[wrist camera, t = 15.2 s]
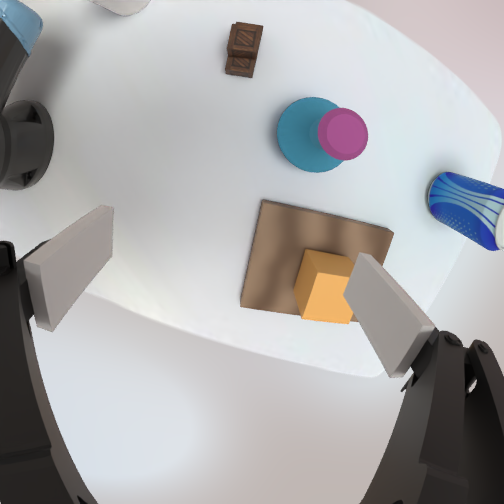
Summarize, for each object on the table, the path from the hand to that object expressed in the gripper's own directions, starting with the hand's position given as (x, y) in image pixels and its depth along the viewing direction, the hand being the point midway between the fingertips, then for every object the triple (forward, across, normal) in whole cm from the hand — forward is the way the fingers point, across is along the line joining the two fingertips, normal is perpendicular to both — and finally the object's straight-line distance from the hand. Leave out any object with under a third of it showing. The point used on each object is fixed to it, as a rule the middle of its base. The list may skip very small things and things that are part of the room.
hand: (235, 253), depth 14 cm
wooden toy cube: (+21, +14, -10) cm, 28 cm away
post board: (+24, +14, -10) cm, 30 cm away
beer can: (+24, +33, +6) cm, 41 cm away
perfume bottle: (+25, +8, +8) cm, 27 cm away
